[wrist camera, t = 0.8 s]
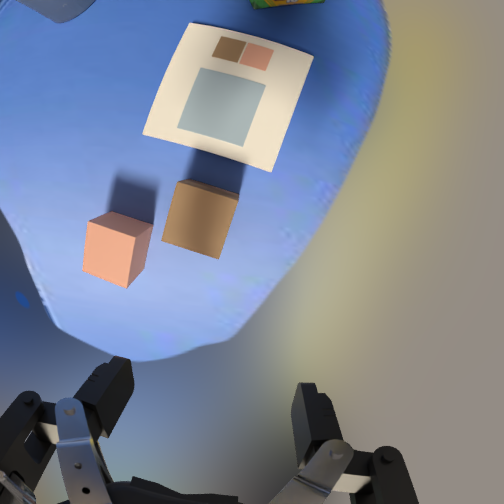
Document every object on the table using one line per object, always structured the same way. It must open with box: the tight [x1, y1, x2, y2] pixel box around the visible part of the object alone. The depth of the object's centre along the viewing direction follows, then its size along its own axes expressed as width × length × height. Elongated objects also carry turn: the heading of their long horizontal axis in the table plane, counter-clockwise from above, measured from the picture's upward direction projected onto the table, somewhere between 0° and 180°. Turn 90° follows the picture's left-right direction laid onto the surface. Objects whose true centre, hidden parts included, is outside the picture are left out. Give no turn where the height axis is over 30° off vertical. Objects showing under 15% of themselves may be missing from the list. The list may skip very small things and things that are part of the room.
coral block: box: [83, 211, 153, 288], centre depth 26 cm, size 6×6×6 cm
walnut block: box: [161, 179, 239, 259], centre depth 26 cm, size 6×6×6 cm
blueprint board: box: [143, 23, 314, 172], centre depth 24 cm, size 14×14×1 cm
